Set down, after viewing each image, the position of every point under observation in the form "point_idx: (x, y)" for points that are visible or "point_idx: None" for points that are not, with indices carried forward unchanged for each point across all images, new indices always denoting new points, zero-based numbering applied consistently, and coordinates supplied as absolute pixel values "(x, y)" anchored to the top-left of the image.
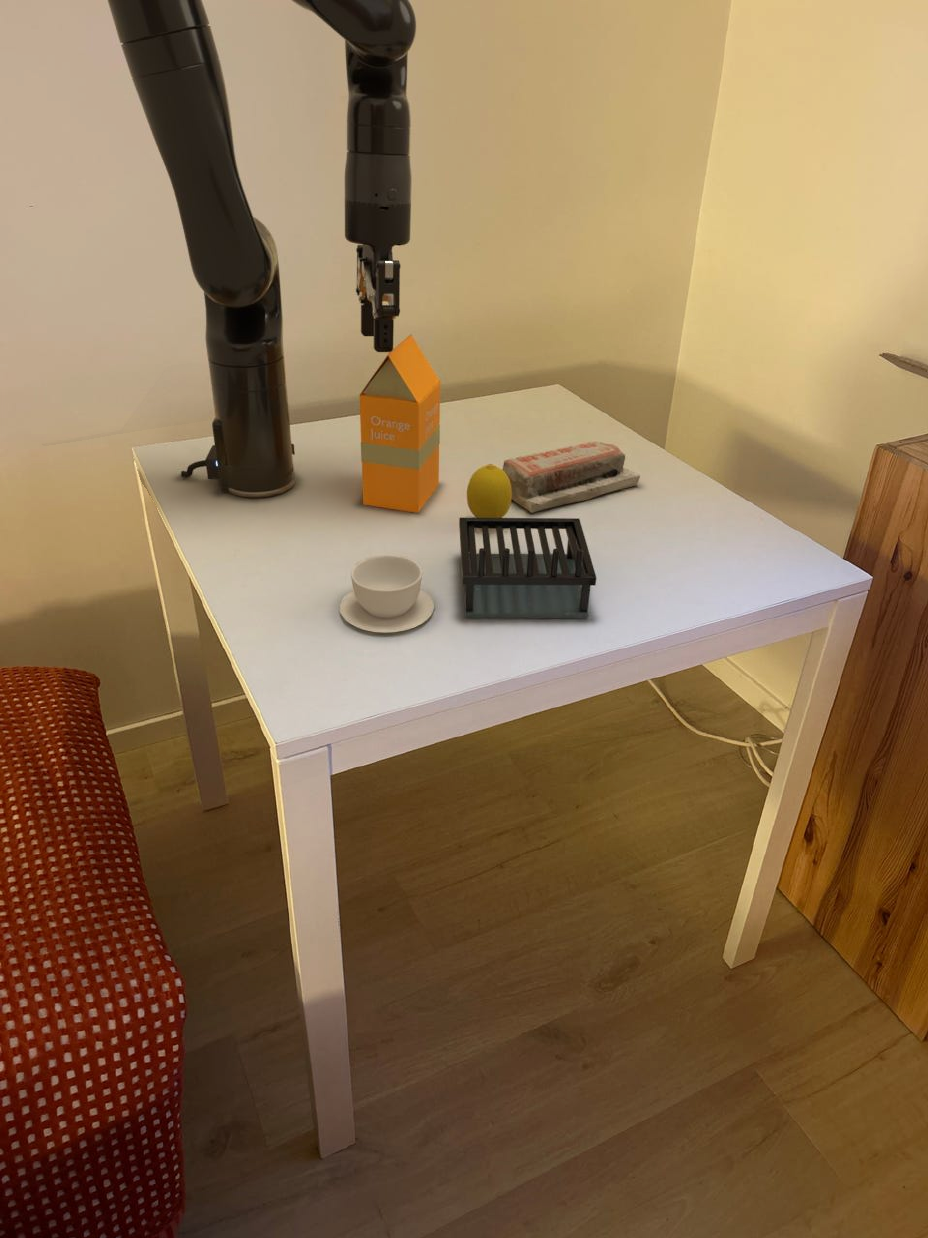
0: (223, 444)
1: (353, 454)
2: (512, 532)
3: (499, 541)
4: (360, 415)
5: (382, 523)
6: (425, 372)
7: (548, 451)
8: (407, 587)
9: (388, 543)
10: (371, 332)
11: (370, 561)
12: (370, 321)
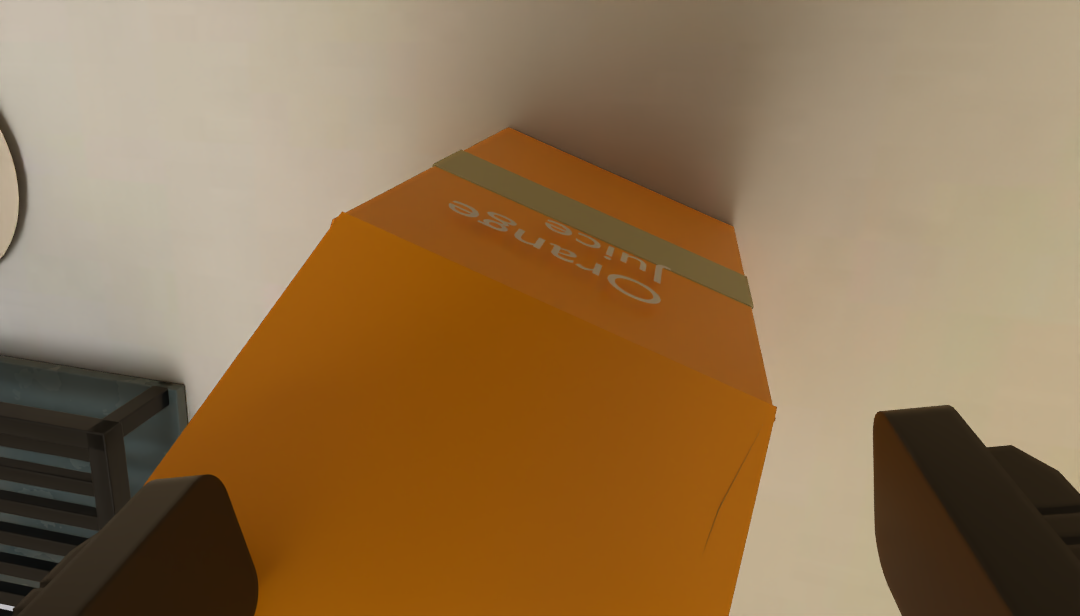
0: None
1: (1009, 101)
2: (65, 546)
3: (13, 504)
4: (383, 194)
5: (373, 185)
6: None
7: None
8: None
9: (248, 195)
10: (882, 513)
11: None
12: (934, 588)
